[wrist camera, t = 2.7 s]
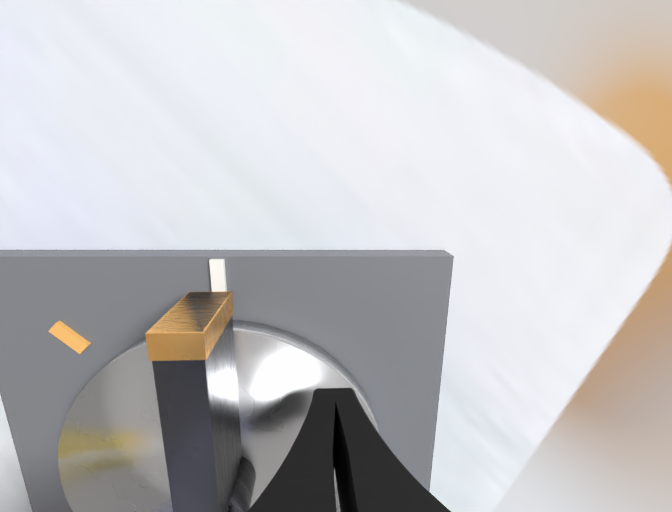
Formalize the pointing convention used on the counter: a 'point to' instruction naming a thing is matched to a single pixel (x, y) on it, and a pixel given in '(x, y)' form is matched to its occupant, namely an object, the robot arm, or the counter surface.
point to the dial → (194, 413)
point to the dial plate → (249, 304)
